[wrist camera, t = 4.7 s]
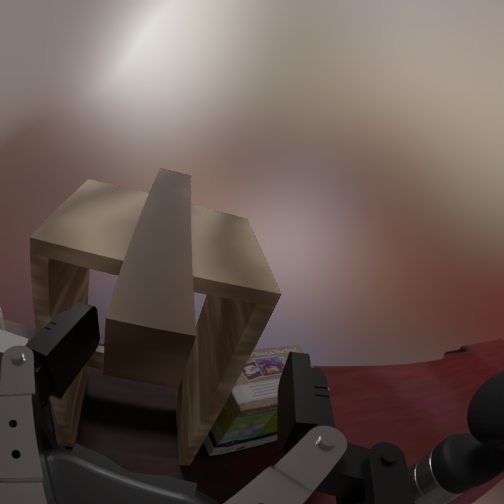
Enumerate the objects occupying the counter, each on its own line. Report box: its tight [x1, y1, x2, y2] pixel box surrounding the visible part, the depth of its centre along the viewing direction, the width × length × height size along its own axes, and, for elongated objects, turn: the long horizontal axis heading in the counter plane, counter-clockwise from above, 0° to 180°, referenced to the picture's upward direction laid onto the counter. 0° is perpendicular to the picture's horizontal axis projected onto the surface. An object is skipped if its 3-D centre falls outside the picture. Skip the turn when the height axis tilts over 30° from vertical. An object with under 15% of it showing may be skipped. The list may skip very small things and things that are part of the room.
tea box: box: [203, 345, 330, 456], centre depth 41 cm, size 15×10×15 cm, turn 117°
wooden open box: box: [30, 180, 281, 466], centre depth 31 cm, size 18×14×32 cm
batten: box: [104, 168, 196, 388], centre depth 20 cm, size 3×22×3 cm, turn 11°
